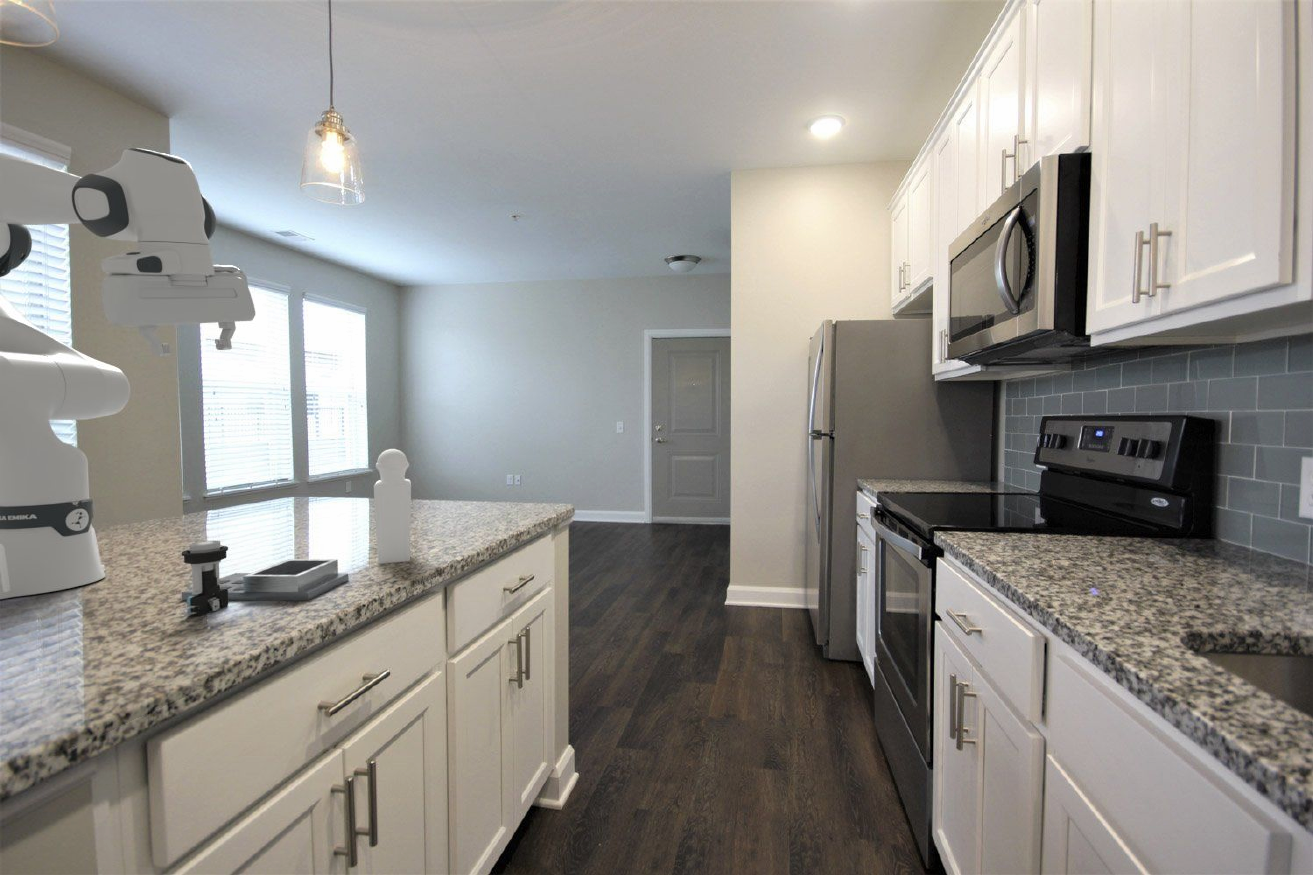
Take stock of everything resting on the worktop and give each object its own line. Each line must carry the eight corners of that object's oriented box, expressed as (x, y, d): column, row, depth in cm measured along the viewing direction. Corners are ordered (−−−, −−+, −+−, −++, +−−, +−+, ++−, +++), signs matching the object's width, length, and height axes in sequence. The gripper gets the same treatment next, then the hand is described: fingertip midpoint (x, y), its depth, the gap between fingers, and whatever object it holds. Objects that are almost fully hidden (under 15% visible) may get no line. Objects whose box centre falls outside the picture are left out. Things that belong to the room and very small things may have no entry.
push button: (199, 620, 80) (196, 549, 80) (164, 619, 81) (162, 548, 81) (239, 605, 87) (237, 539, 87) (207, 604, 88) (204, 538, 87)
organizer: (181, 599, 90) (181, 576, 89) (235, 579, 101) (234, 558, 100) (308, 600, 89) (307, 576, 89) (348, 580, 100) (347, 559, 100)
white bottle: (412, 561, 113) (410, 449, 112) (375, 565, 110) (372, 450, 109) (412, 554, 119) (410, 447, 118) (377, 557, 116) (374, 448, 115)
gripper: (231, 266, 101) (244, 346, 104) (85, 260, 82) (107, 357, 86) (257, 266, 99) (269, 347, 102) (114, 260, 80) (135, 360, 83)
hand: (194, 352), depth 94 cm, fingers open, 8 cm apart
